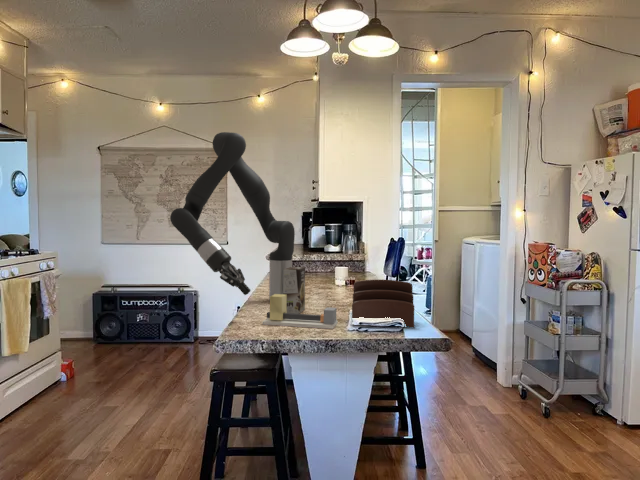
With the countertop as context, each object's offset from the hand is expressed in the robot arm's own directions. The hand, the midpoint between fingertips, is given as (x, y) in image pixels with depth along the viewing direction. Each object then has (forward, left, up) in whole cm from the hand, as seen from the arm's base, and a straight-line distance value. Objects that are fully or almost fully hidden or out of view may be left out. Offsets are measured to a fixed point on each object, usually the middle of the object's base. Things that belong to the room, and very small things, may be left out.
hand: (248, 292), depth 150 cm
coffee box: (-19, +11, -9) cm, 24 cm away
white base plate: (0, +18, -9) cm, 20 cm away
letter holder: (-8, +44, -10) cm, 46 cm away
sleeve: (0, +11, -8) cm, 13 cm away
